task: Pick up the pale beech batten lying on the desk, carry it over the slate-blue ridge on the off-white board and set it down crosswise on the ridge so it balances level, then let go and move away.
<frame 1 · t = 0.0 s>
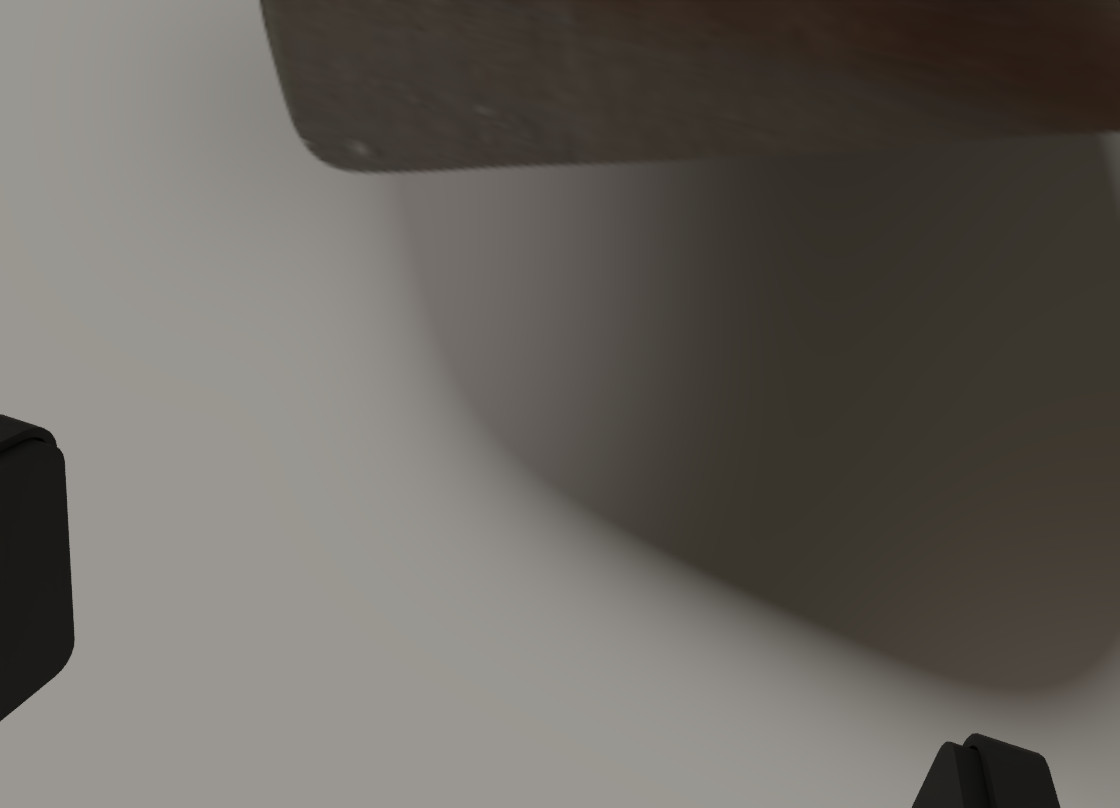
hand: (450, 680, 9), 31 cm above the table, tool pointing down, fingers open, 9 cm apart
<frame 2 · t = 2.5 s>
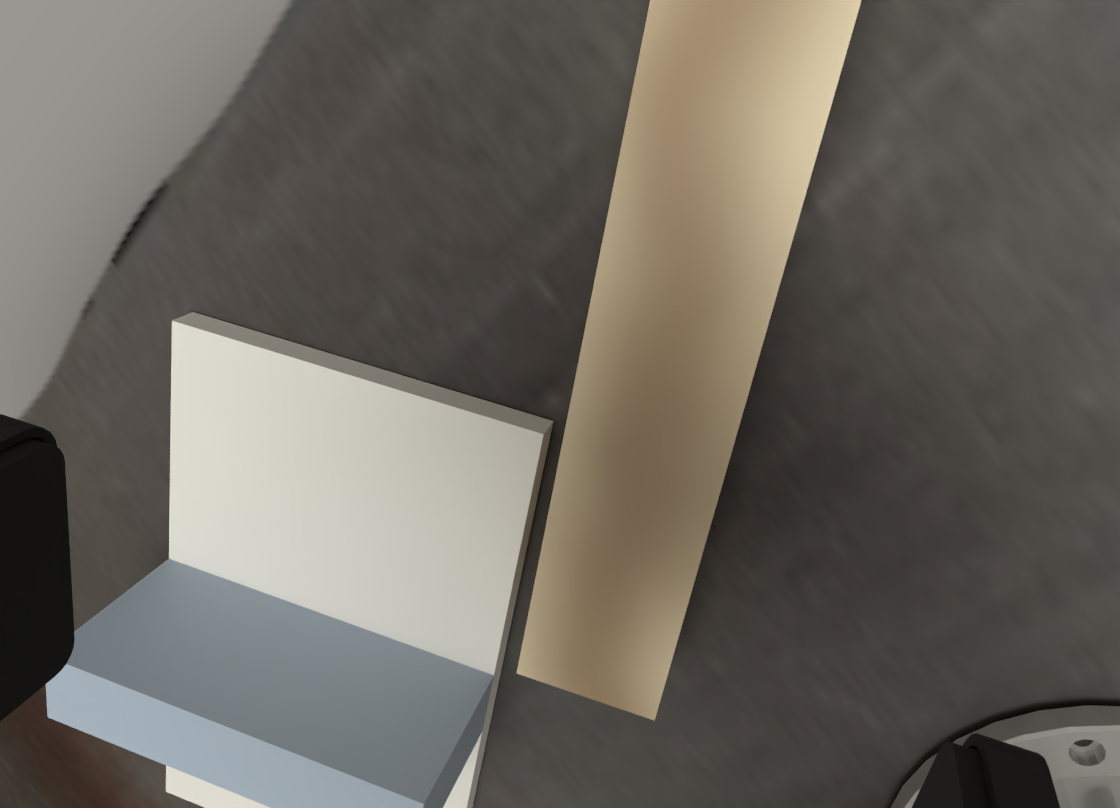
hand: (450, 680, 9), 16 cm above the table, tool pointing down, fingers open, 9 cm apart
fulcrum: (337, 626, 32), on the table
rod: (698, 283, 24), on the table
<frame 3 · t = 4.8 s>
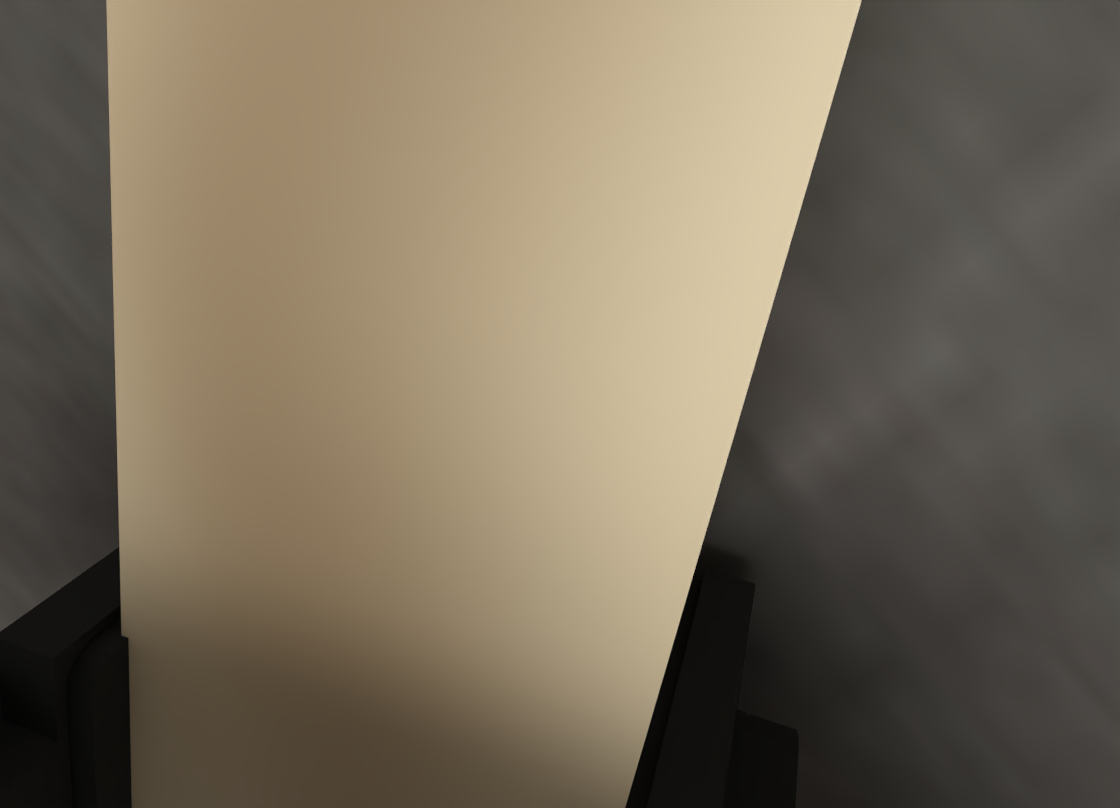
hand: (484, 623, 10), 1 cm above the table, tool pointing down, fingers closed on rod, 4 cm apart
rod: (504, 593, 11), on the table, touching gripper
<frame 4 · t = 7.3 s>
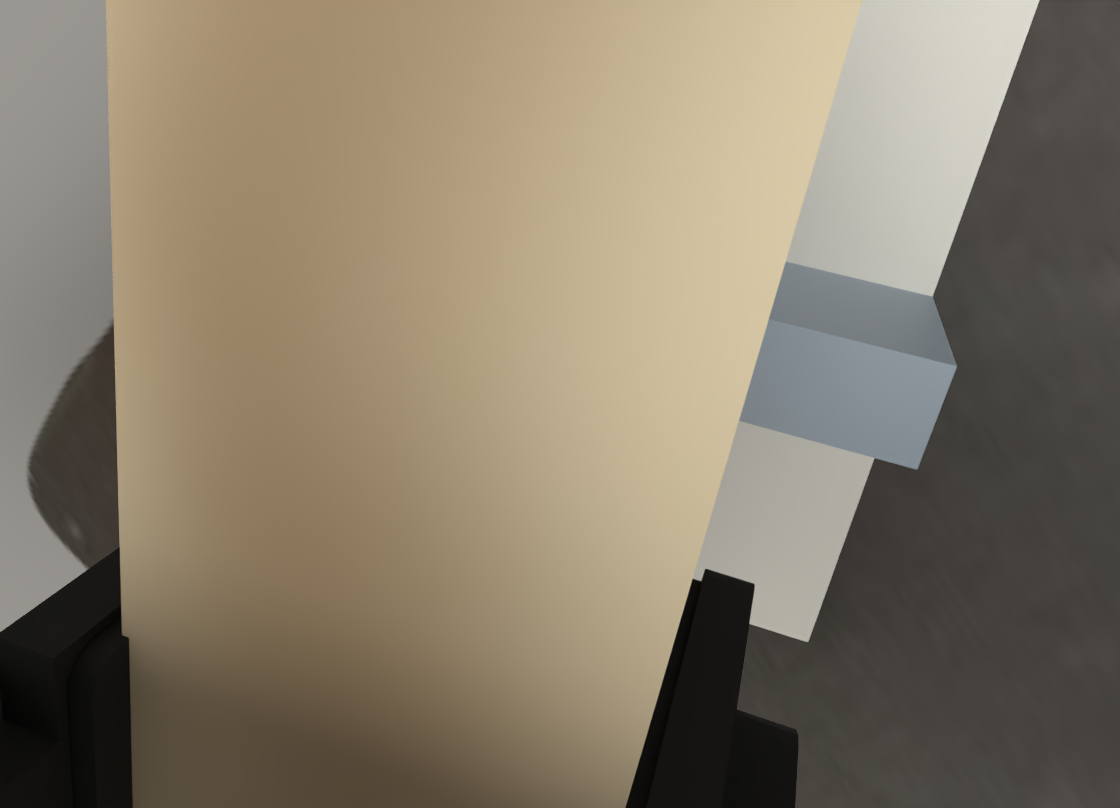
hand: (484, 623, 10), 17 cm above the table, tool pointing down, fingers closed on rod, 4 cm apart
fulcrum: (697, 275, 26), on the table
rod: (506, 585, 11), point 17 cm above the table, touching gripper
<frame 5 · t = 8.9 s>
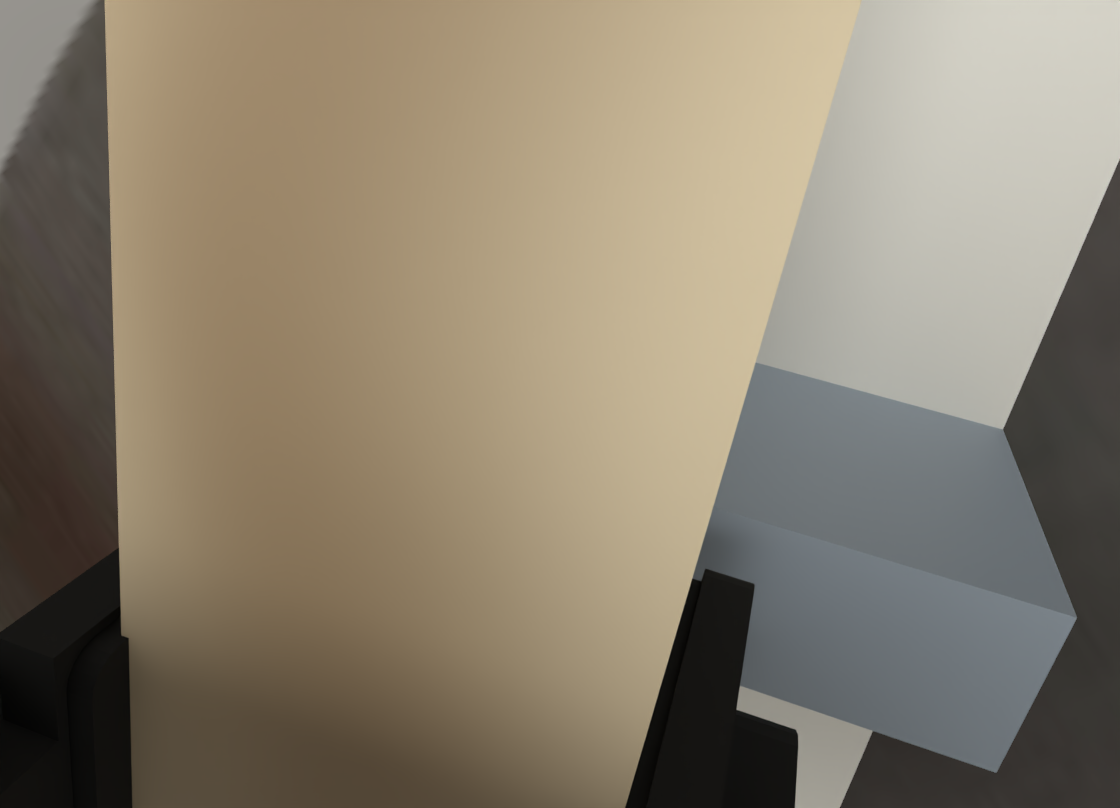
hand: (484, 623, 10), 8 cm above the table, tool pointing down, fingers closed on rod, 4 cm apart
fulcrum: (650, 377, 18), on the table
rod: (506, 586, 11), point 8 cm above the table, touching gripper
when the fingers open (7 cm above the table, at t = 9.9 s): rod stays where it is, resting on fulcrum.
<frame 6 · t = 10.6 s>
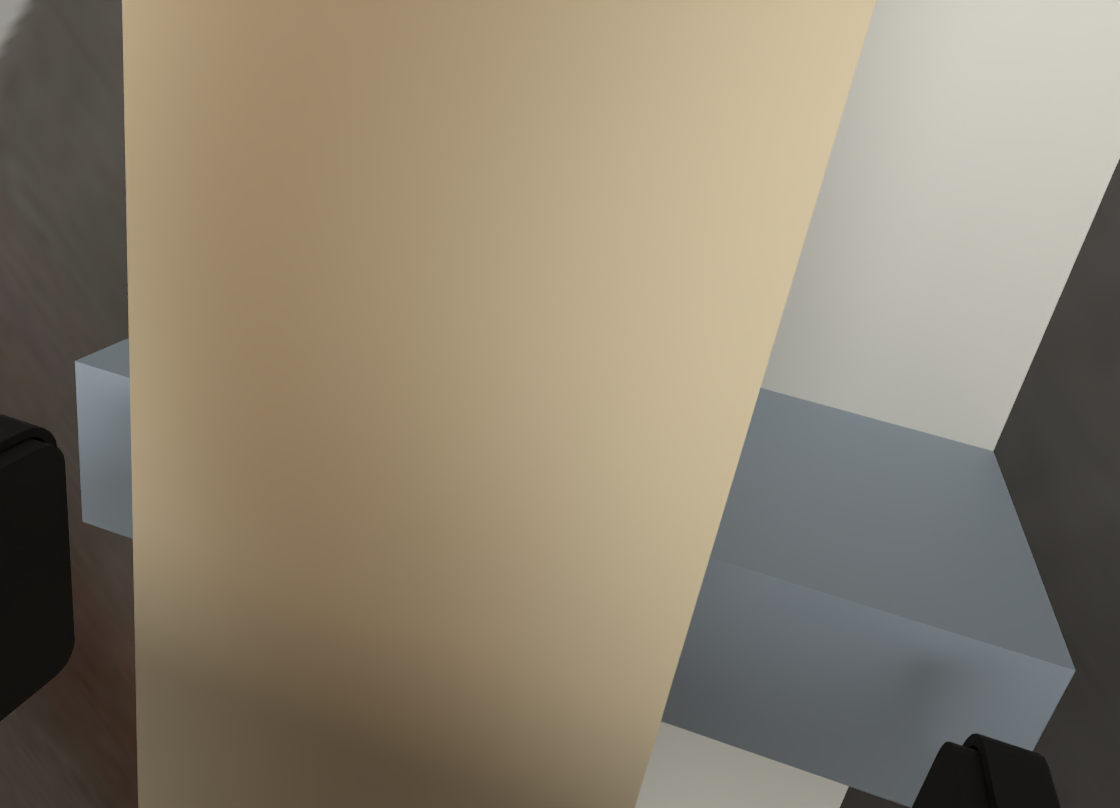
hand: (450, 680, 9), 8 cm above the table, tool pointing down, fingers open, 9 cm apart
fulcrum: (622, 393, 17), on the table
rod: (512, 585, 11), point 6 cm above the table, touching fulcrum
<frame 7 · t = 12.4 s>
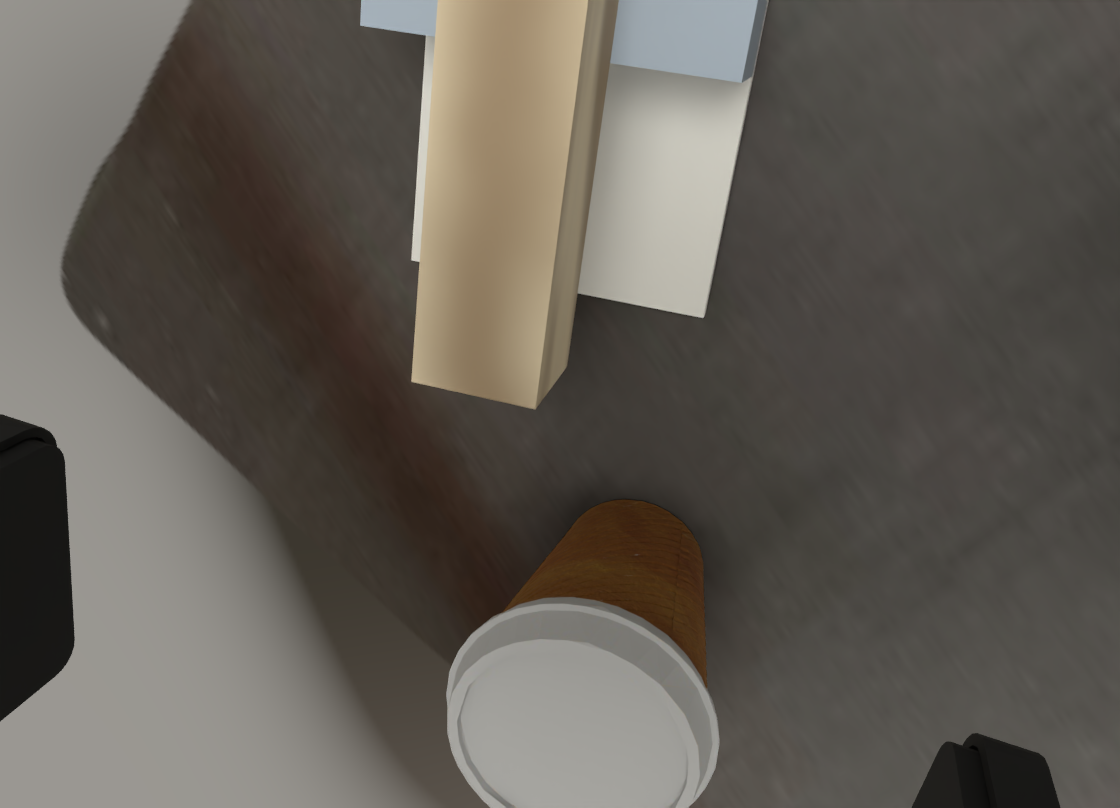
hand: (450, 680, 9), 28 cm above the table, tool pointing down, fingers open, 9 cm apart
disposable coffee cup: (633, 559, 41), on the table
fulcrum: (594, 15, 33), on the table
rod: (550, 9, 27), point 6 cm above the table, touching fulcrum
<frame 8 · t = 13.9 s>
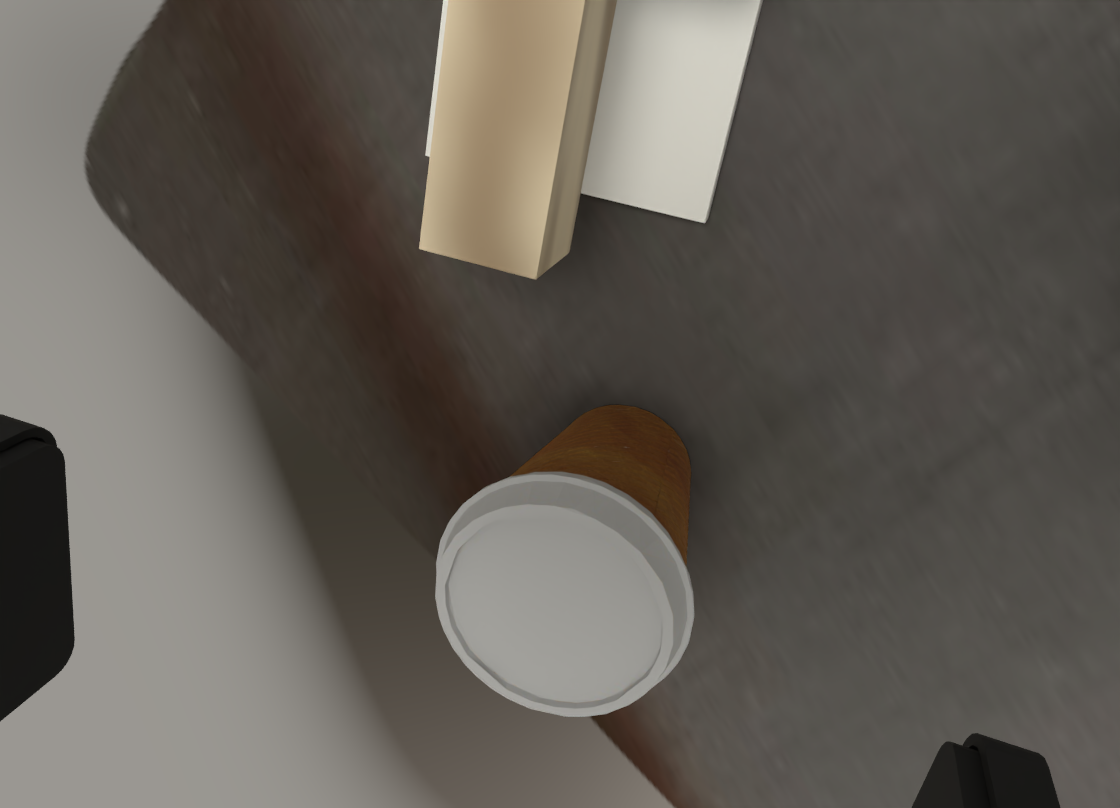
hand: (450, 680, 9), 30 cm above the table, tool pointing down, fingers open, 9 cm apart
disposable coffee cup: (624, 465, 42), on the table
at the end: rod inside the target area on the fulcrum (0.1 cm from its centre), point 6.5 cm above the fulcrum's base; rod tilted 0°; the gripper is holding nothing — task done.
